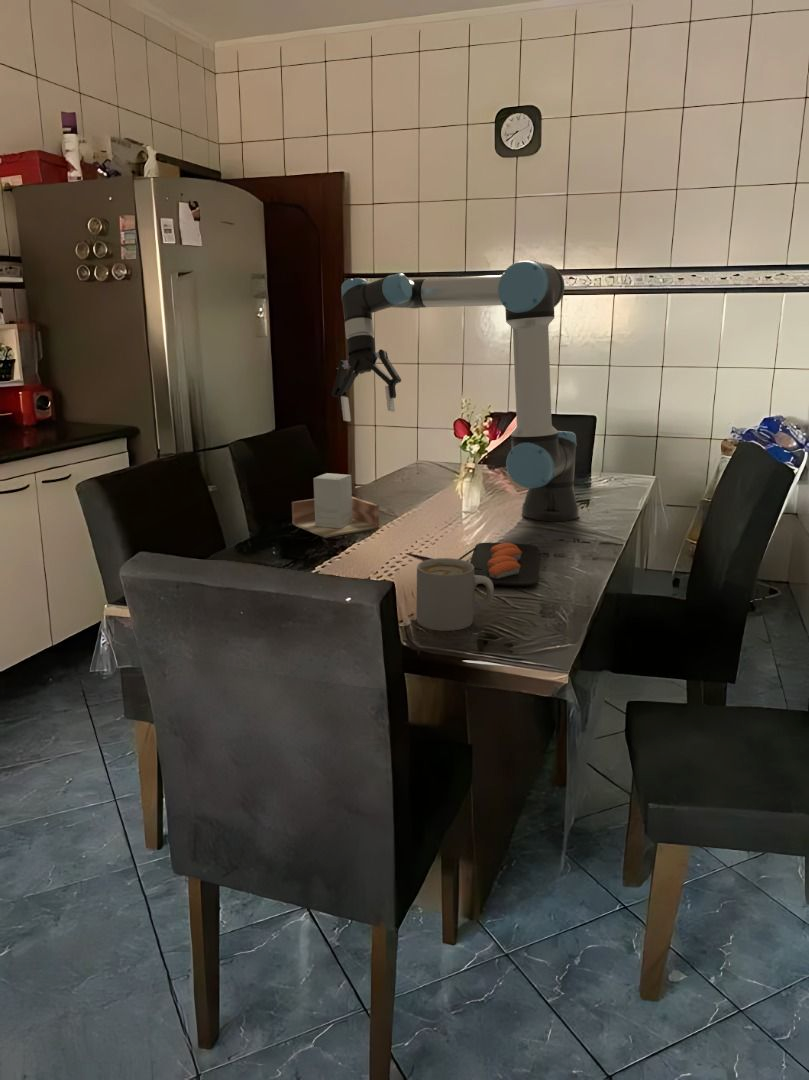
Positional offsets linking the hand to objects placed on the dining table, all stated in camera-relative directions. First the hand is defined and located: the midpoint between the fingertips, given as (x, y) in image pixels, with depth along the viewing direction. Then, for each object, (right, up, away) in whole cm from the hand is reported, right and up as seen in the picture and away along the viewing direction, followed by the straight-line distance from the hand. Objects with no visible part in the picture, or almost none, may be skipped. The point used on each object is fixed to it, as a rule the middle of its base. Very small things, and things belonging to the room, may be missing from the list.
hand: (368, 416), depth 214 cm
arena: (-8, -30, -9) cm, 32 cm away
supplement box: (-9, -29, -9) cm, 32 cm away
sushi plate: (+23, -39, -41) cm, 61 cm away
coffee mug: (+18, -48, -73) cm, 89 cm away
